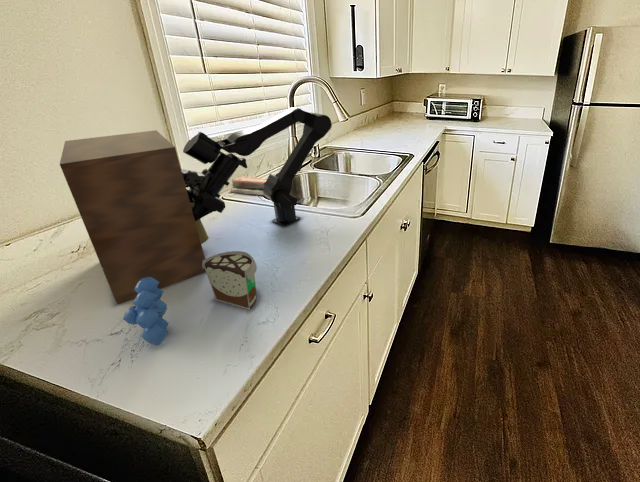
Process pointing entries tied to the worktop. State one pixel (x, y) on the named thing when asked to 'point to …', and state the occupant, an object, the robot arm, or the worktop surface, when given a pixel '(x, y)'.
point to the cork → (200, 229)
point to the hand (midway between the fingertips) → (184, 221)
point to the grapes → (148, 311)
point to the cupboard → (134, 209)
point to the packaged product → (248, 185)
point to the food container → (232, 278)
